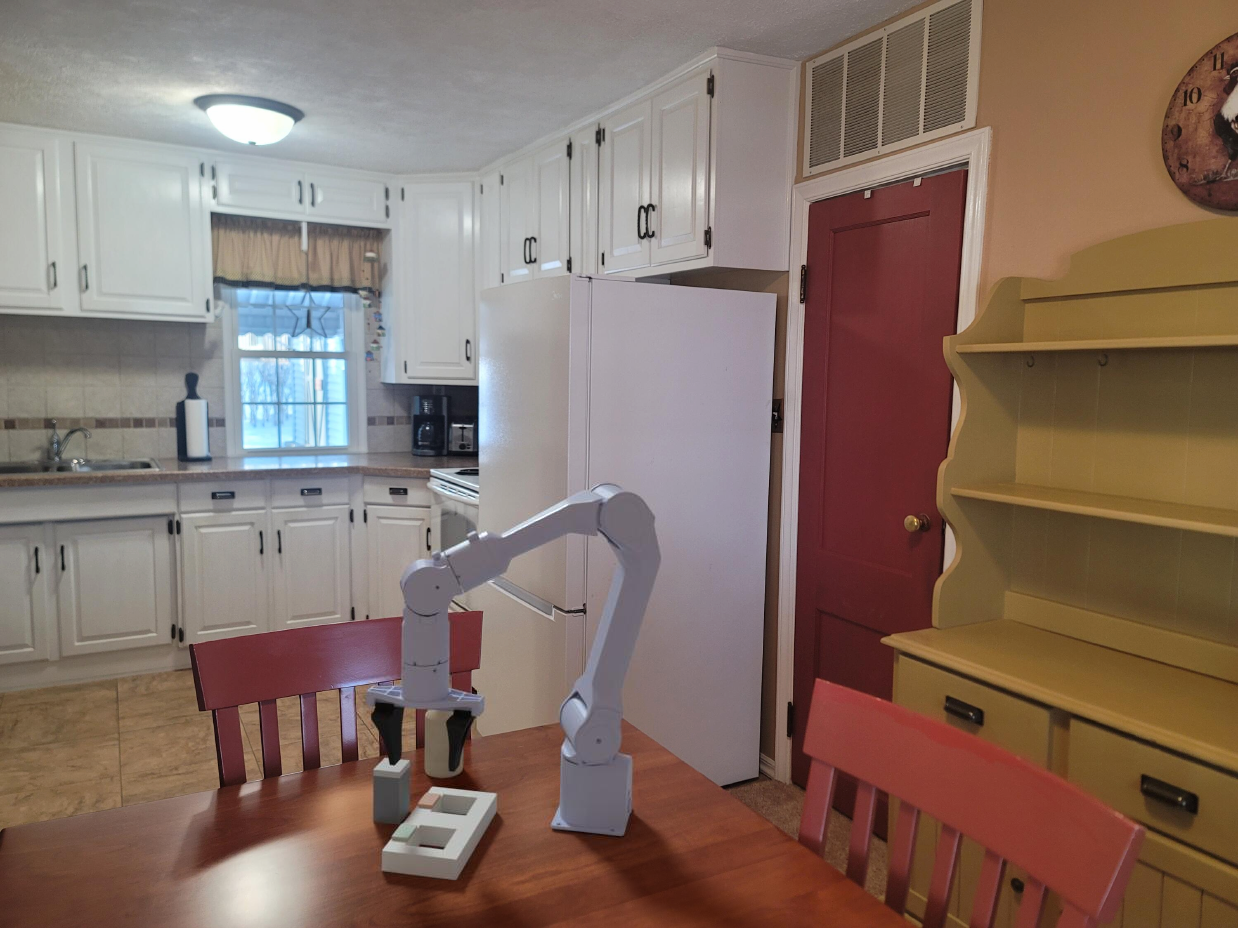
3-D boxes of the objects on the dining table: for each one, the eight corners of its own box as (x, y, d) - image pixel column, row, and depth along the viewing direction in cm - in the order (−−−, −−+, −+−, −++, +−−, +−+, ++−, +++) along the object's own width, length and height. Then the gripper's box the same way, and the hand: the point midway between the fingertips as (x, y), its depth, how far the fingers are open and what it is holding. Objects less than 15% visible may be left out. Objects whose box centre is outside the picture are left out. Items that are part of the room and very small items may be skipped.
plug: (409, 810, 115) (410, 760, 114) (399, 824, 111) (399, 772, 111) (384, 808, 115) (384, 757, 115) (373, 821, 112) (373, 769, 111)
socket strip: (496, 811, 115) (497, 790, 115) (456, 879, 100) (456, 856, 99) (432, 804, 117) (432, 783, 116) (381, 870, 101) (382, 847, 101)
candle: (454, 780, 124) (455, 712, 123) (418, 775, 125) (418, 708, 124) (468, 763, 129) (469, 698, 128) (434, 759, 130) (434, 695, 129)
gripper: (492, 653, 109) (490, 756, 110) (383, 643, 111) (382, 745, 113) (474, 671, 102) (473, 782, 103) (358, 661, 104) (358, 769, 106)
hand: (424, 764), depth 108 cm, fingers open, 7 cm apart
